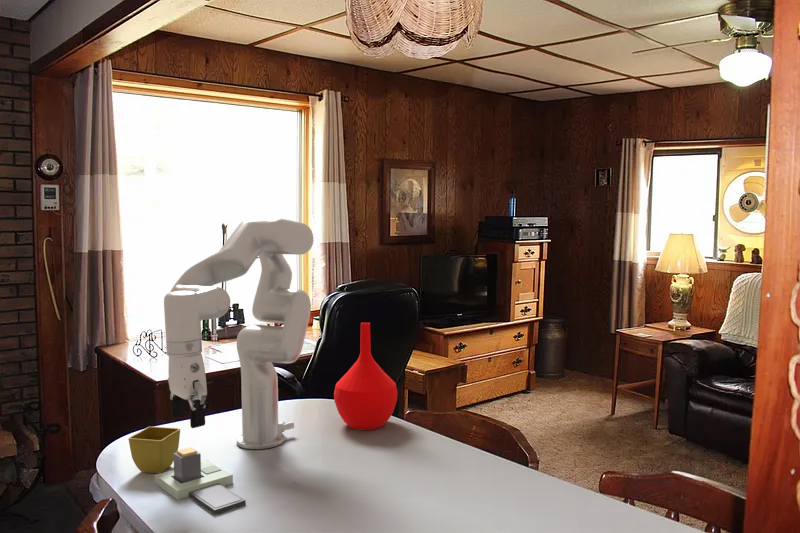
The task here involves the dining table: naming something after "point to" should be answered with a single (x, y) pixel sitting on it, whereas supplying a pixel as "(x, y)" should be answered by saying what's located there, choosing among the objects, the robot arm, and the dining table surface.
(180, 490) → the outlet plate
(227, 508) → the phone slab
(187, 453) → the block
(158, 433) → the flower pot
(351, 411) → the vase
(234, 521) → the dining table surface
